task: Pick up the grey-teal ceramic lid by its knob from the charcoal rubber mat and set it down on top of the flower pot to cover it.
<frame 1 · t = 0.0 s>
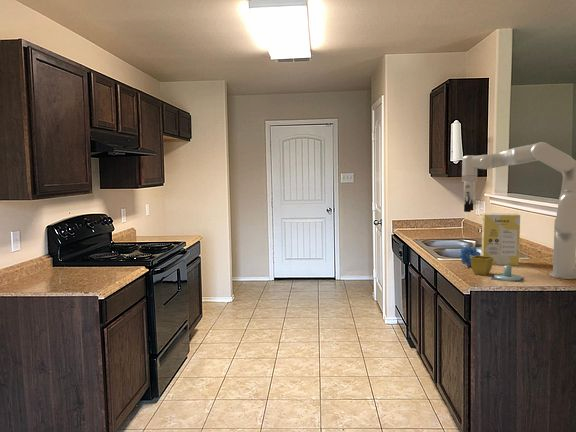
hand: (468, 211, 254), 31 cm above the counter, tool pointing down, fingers open, 9 cm apart
mat: (507, 279, 231), on the counter
flower pot: (481, 275, 242), on the counter
grapes: (470, 267, 260), on the counter
pasta box: (499, 263, 271), on the counter
lid: (507, 278, 231), resting on mat
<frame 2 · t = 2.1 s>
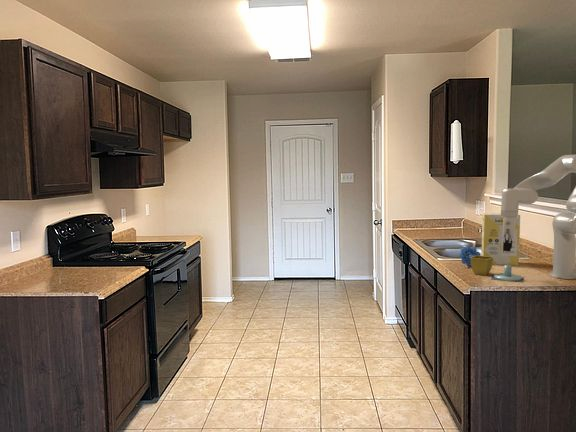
hand: (507, 249, 230), 15 cm above the counter, tool pointing down, fingers open, 9 cm apart
nothing on the counter moved.
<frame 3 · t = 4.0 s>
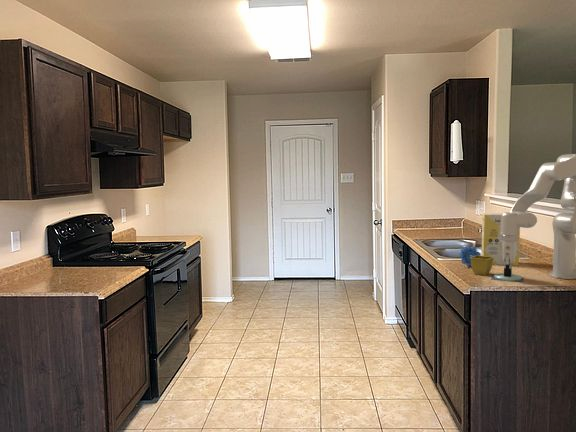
hand: (507, 275, 231), 2 cm above the counter, tool pointing down, fingers closed on lid, 3 cm apart
lid: (507, 278, 231), point 1 cm above the counter, touching gripper, mat
everything else where it was.
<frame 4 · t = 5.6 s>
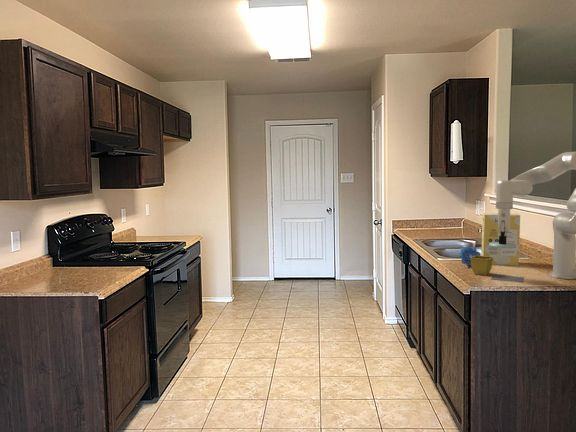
hand: (502, 243, 232), 17 cm above the counter, tool pointing down, fingers closed on lid, 3 cm apart
lid: (502, 246, 232), point 16 cm above the counter, touching gripper
everything else where it was.
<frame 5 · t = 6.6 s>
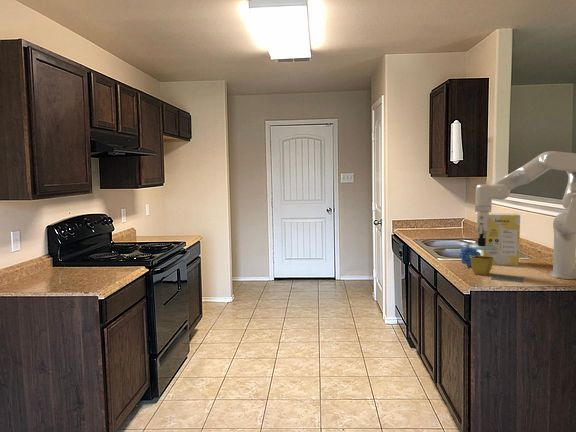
hand: (481, 244, 241), 15 cm above the counter, tool pointing down, fingers closed on lid, 3 cm apart
lid: (481, 247, 241), point 14 cm above the counter, touching gripper
everything else where it was.
when the fingers open (12 cm above the counter, at t = 7.3 s): lid drops 2 cm, resting on flower pot.
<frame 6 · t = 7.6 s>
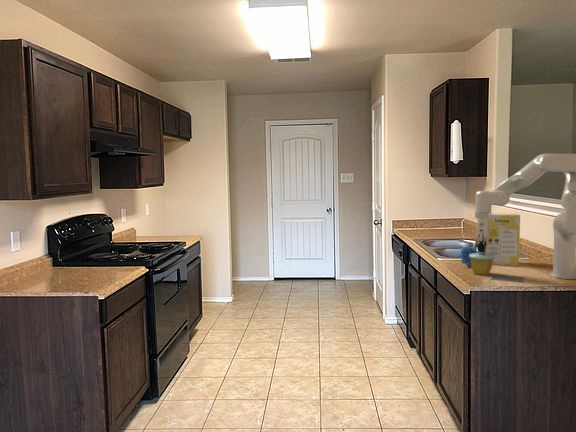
hand: (482, 250, 241), 12 cm above the counter, tool pointing down, fingers open, 6 cm apart
flower pot: (481, 275, 242), on the counter, touching lid
lid: (482, 257, 241), point 9 cm above the counter, touching flower pot
everything else where it was.
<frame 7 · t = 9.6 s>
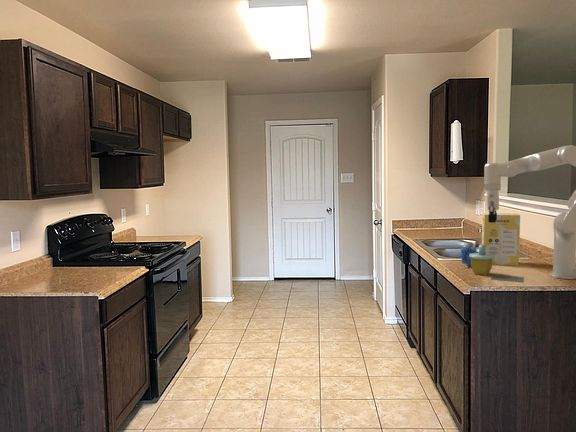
hand: (492, 221, 241), 27 cm above the counter, tool pointing down, fingers open, 9 cm apart
nothing on the counter moved.
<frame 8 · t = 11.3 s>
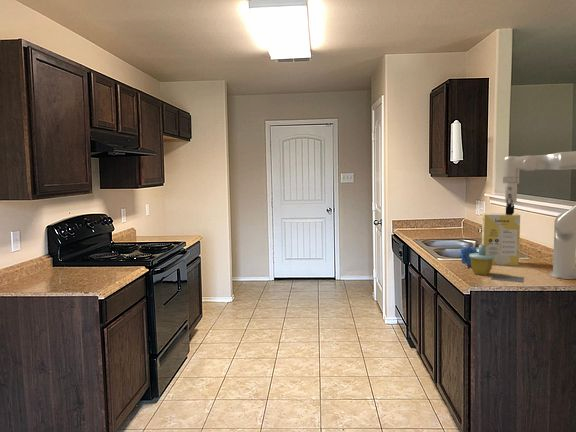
hand: (509, 214, 244), 30 cm above the counter, tool pointing down, fingers open, 9 cm apart
nothing on the counter moved.
at the end: lid 0.1 cm off-centre on the flower pot, point 9.2 cm above the flower pot's base; lid tilted 0°; the gripper is holding nothing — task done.
